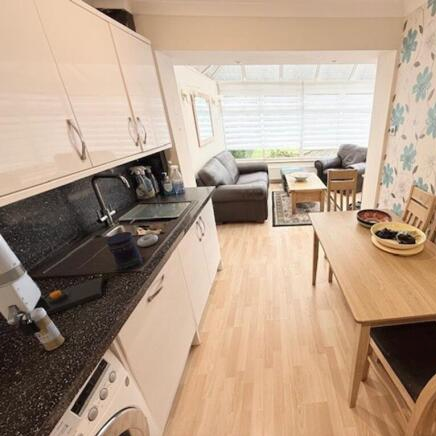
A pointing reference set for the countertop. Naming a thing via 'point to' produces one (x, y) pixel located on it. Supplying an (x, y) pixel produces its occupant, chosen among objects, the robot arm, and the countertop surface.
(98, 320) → the countertop surface
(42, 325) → the sprinkles bottle
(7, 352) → the countertop surface
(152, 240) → the donut
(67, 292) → the scale
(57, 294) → the tare button
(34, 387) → the countertop surface
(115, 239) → the storage jar
